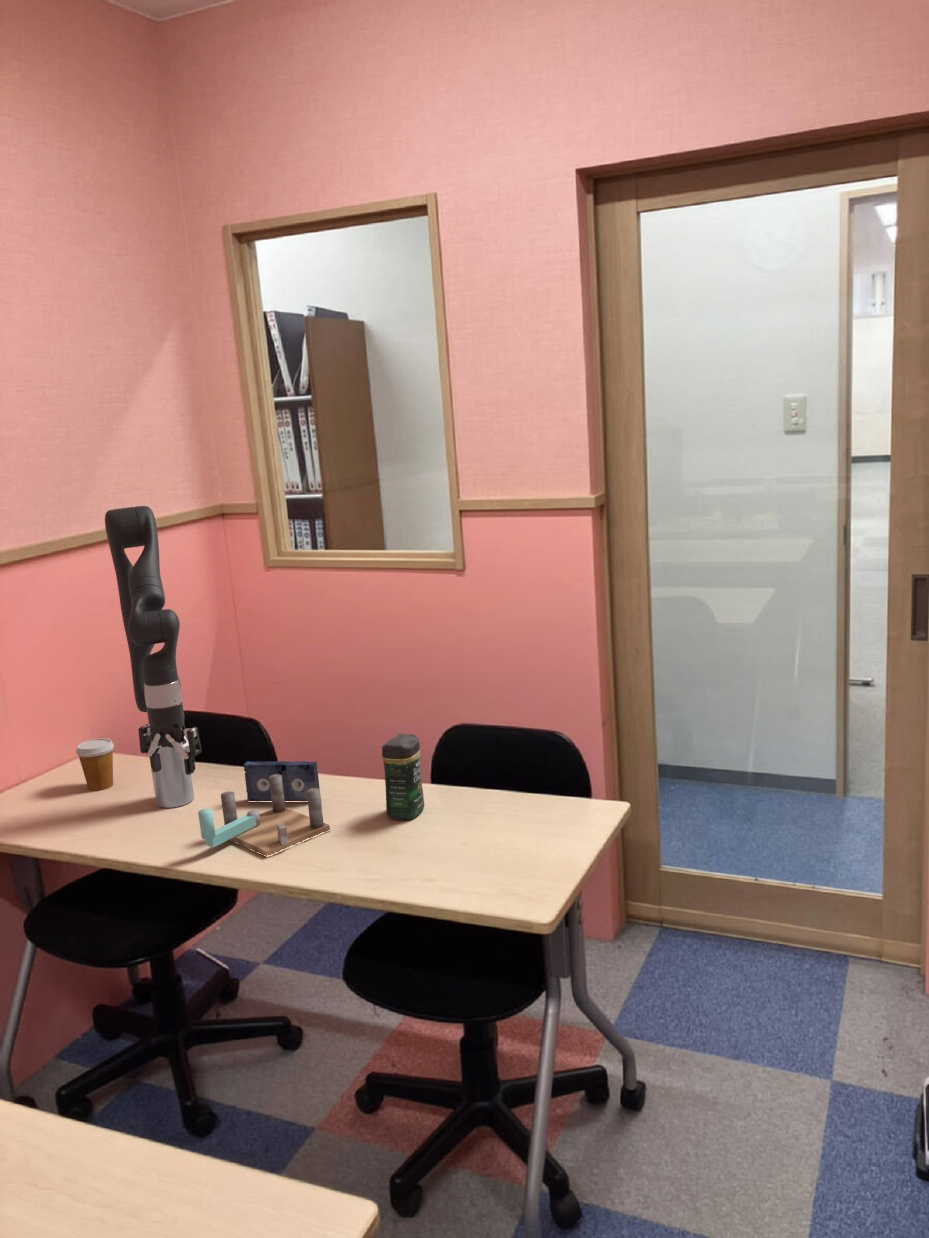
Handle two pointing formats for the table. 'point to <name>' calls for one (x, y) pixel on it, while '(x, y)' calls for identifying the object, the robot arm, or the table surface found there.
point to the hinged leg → (225, 827)
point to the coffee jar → (403, 777)
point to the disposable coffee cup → (97, 763)
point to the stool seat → (278, 821)
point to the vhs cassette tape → (293, 778)
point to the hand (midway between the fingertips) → (173, 772)
